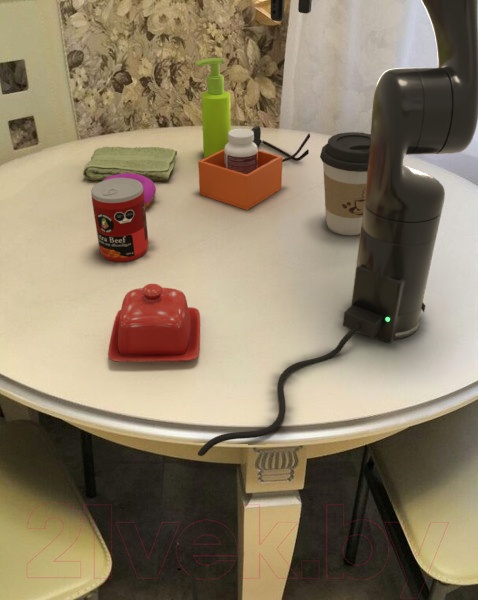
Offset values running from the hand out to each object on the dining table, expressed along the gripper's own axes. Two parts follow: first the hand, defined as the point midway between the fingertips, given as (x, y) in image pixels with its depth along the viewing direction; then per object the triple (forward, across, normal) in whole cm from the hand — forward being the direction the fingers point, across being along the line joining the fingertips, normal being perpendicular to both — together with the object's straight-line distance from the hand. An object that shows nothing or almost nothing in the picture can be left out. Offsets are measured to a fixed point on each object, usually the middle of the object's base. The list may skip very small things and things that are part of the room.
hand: (291, 16), depth 105 cm
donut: (+30, -25, +18) cm, 43 cm away
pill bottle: (+30, -9, +4) cm, 31 cm away
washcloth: (+30, -14, +28) cm, 44 cm away
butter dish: (+30, -52, -14) cm, 62 cm away
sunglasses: (+30, +8, +7) cm, 32 cm away
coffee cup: (+30, -9, -19) cm, 37 cm away
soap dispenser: (+30, +2, +19) cm, 36 cm away
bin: (+30, -9, +4) cm, 32 cm away
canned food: (+30, -38, +6) cm, 49 cm away
